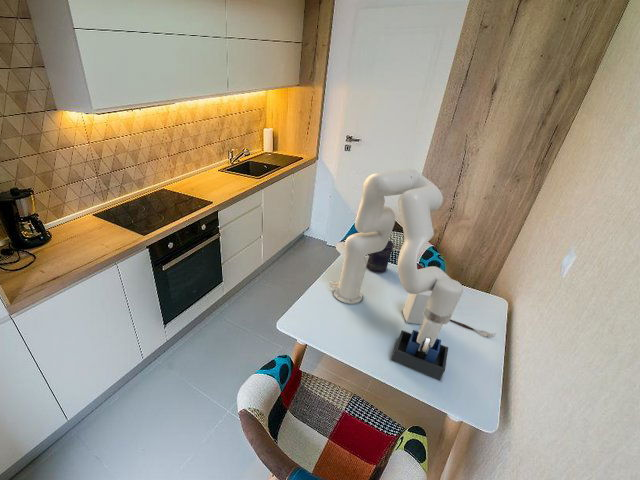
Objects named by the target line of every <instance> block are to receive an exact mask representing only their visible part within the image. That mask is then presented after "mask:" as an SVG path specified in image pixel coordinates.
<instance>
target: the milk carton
mask: <svg viewBox="0 0 640 480" xmlns="http://www.w3.org/2000/svg"><path fill="white" fill-rule="evenodd" d="M431 293H432V291H426V292H422V293H418V294H410V293H408V296H407V298H406V301H405V304H404V307H403V309H402V313H403V317H404V320H405V323H407V324H413V325H414V324H415V325H420V326H421V325H422V322H423V320H424V318H425V317H424V315H423V312H424V310H425V308H426V305H427V303H428V300H429V298H430V295H431Z"/></svg>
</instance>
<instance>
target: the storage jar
mask: <svg viewBox="0 0 640 480" xmlns="http://www.w3.org/2000/svg"><path fill="white" fill-rule="evenodd" d="M393 248H394V243H393V242H392V240H390V239H389V240H388V243H387V245H386V247H385V248H384V249H383V250H382V251H379V252H375V253H371V254H369V256H368V258H367V260H366V264H367V265H366V270H368V271H370V272H372V273H376V274H383V273H385V272H386V271H387V267H388V265H389V260H390V256H391V255H392V252H393Z"/></svg>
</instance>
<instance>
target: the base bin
mask: <svg viewBox="0 0 640 480" xmlns="http://www.w3.org/2000/svg"><path fill="white" fill-rule="evenodd" d="M411 334H412V332H409V331H405V330H400V333H399V336H398V338H397V342H396V345H395V348H394V350H393V354H392V356H391V359H390V361H392V362H394V363H397V364H399V365H401V366H404V367H406V368H409V369H411V370H414V371H416V372H418V373H421V374H423V375H426V376H428V377H431V378H433V379H435V380H438V381H440V380H441V378H442V377H443V375H444V374H445V371H446V366H447V360H448V355H449V353H448V352H449V347H448V346H446V345H443V344H440V350H439V354H438V356H437V358H436V360H435V362H434V364H433V363H430V362H428V361H425V360H423V359H420V358H418V357H415V356H413V355H410V354H408V353H405V351H406V348H407V345H408V342H409V339H410V337H411Z"/></svg>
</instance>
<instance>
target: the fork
mask: <svg viewBox="0 0 640 480" xmlns="http://www.w3.org/2000/svg"><path fill="white" fill-rule="evenodd" d="M449 322H453V323H454V324H456V325H458V326H461V327H462V328H466V329H469V330H473V331H475V332H477V333H478V334H479V335H480V336H481V337H485V338H490V337H491V338H495V337H496V334H497V332H484V331H480V330H477V329H475V328H472V327H471V326H469V325H467V324H464V323H461V322H458V321H456V320H453V319H450V320H449Z"/></svg>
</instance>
